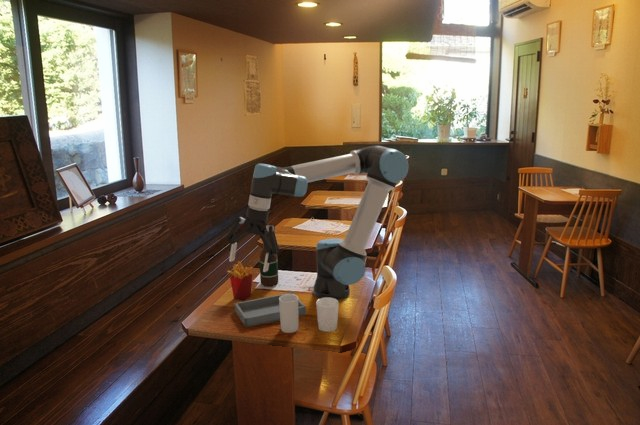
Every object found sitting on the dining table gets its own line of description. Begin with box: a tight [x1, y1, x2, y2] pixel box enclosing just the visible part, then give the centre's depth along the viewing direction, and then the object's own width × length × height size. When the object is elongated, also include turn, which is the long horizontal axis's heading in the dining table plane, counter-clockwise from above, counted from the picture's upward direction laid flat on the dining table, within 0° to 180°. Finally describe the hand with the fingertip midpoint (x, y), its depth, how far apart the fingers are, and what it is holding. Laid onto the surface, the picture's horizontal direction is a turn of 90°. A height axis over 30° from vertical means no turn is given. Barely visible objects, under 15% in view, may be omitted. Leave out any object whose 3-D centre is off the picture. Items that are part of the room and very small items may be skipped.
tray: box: [234, 292, 307, 328], centre depth 199 cm, size 24×15×4 cm, turn 114°
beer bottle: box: [259, 229, 279, 288], centre depth 225 cm, size 8×8×24 cm
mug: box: [279, 293, 299, 334], centre depth 187 cm, size 10×7×12 cm, turn 155°
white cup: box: [315, 297, 339, 333], centre depth 187 cm, size 8×8×10 cm
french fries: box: [227, 261, 253, 302], centre depth 212 cm, size 9×8×15 cm
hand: (248, 266), depth 186 cm, fingers open, 13 cm apart
